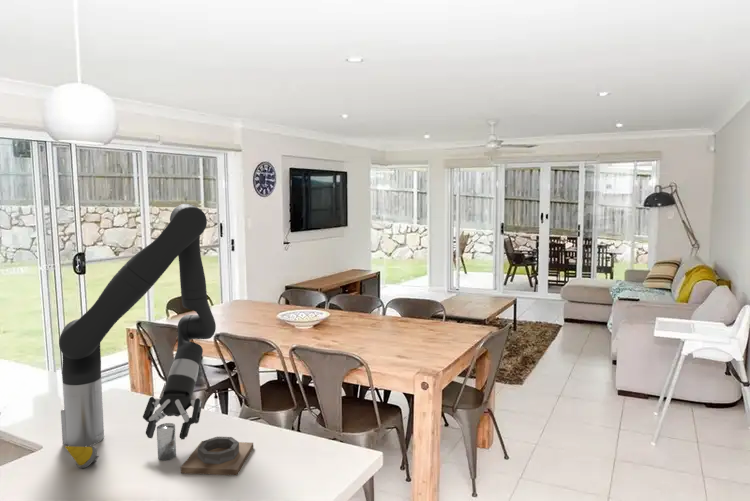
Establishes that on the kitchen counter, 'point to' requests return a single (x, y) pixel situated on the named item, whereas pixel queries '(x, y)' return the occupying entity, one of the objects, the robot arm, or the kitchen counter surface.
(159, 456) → the steel peg
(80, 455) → the drill bit
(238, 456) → the socket board
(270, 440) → the kitchen counter surface
